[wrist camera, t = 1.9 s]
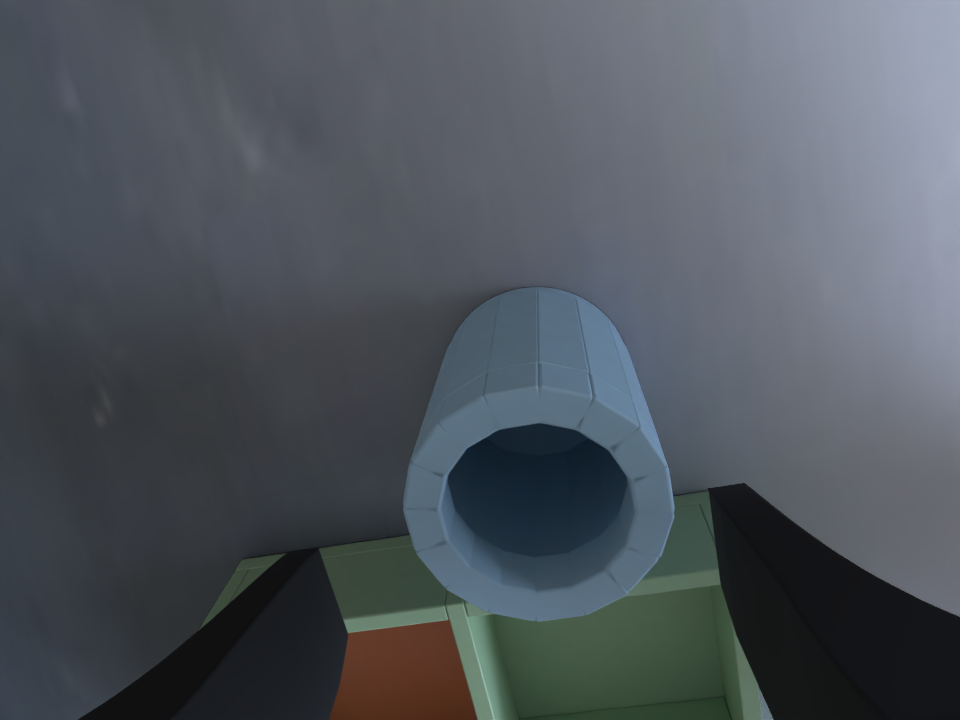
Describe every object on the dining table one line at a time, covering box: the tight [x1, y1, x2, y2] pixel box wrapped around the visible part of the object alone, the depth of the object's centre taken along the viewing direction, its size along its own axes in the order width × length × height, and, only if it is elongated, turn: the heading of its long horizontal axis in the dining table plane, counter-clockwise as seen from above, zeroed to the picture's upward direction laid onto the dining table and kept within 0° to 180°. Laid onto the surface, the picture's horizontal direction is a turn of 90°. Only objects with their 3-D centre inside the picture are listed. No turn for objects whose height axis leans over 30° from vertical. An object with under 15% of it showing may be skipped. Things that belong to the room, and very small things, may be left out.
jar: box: [403, 287, 675, 622], centre depth 17 cm, size 5×5×7 cm
